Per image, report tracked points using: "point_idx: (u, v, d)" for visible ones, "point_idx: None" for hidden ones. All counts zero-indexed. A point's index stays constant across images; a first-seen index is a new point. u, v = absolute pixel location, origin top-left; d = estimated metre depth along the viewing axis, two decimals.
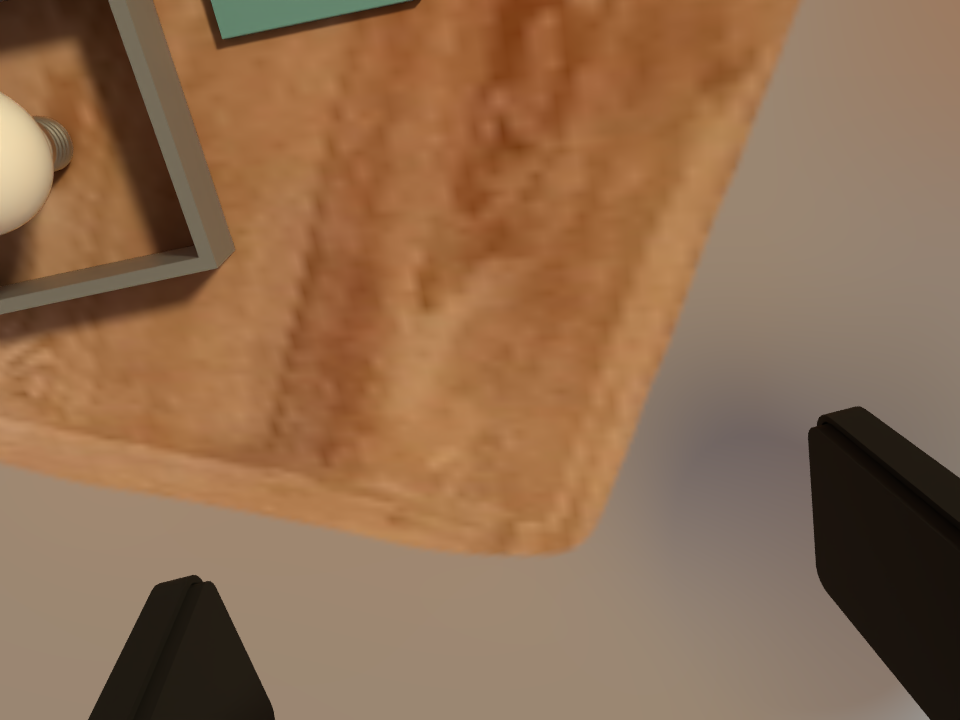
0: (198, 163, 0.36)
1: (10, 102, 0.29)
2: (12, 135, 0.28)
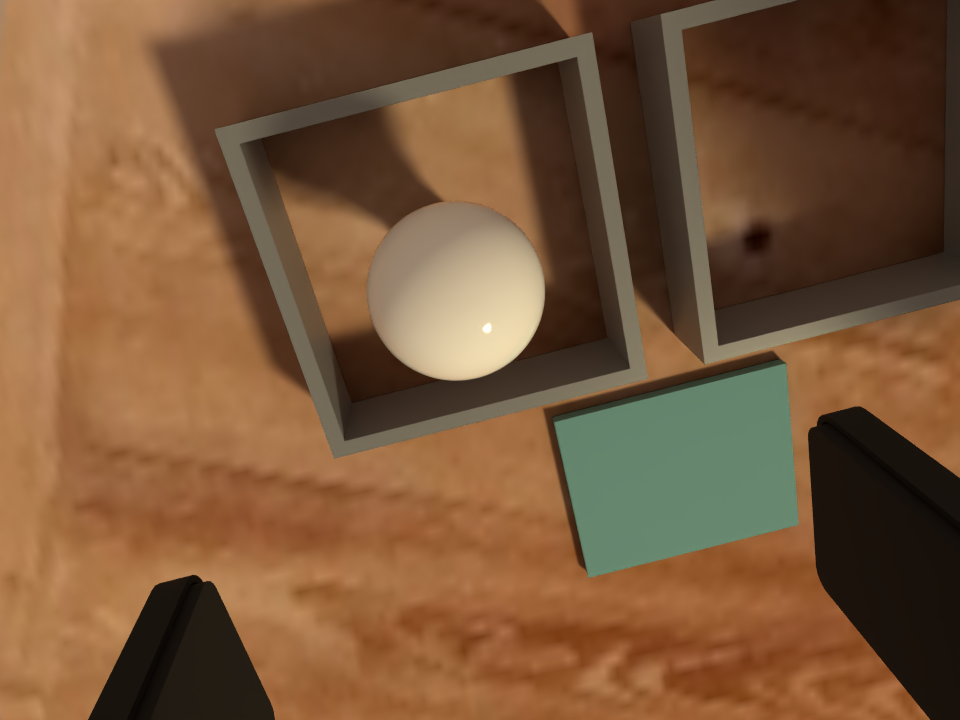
0: None
1: None
2: None
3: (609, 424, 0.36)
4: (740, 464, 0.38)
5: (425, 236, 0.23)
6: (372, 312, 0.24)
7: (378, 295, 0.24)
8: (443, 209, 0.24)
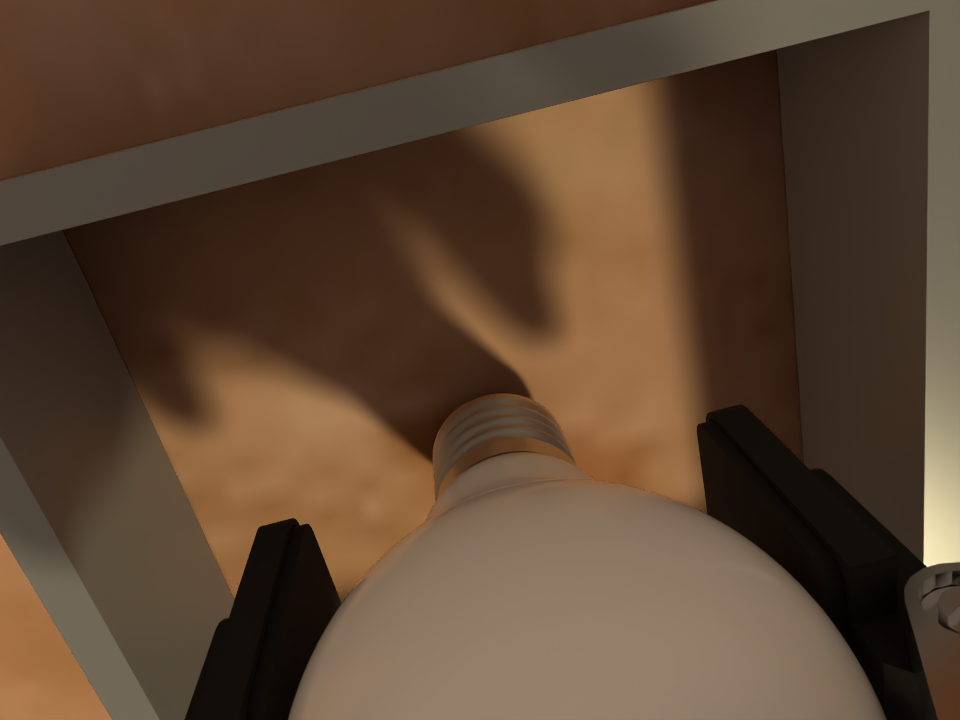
0: None
1: None
2: None
3: None
4: None
5: None
6: None
7: None
8: (566, 595, 0.06)
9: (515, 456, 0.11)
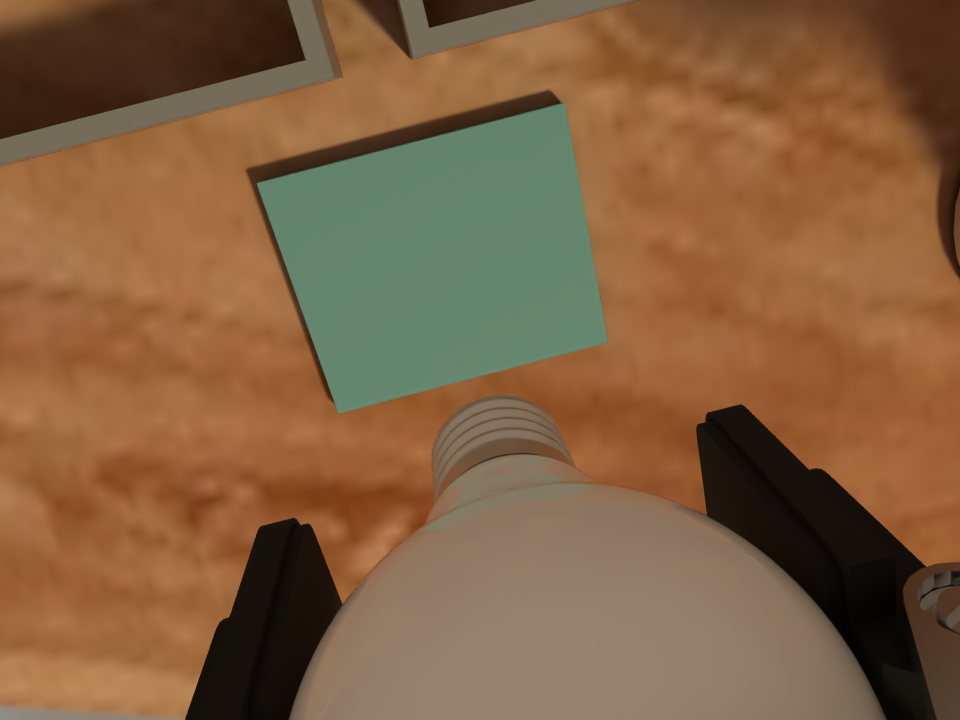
0: None
1: None
2: None
3: (333, 189, 0.27)
4: (520, 252, 0.29)
5: None
6: None
7: None
8: (569, 599, 0.06)
9: (514, 458, 0.11)
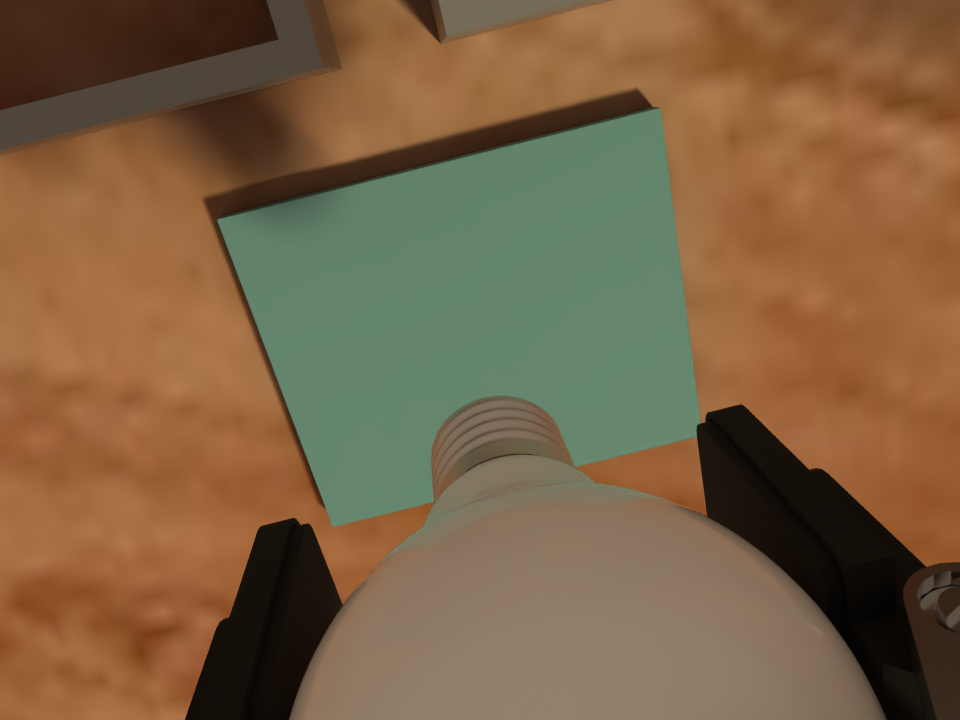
0: None
1: None
2: None
3: (326, 228, 0.19)
4: (588, 316, 0.21)
5: None
6: None
7: None
8: (569, 600, 0.06)
9: (514, 459, 0.11)
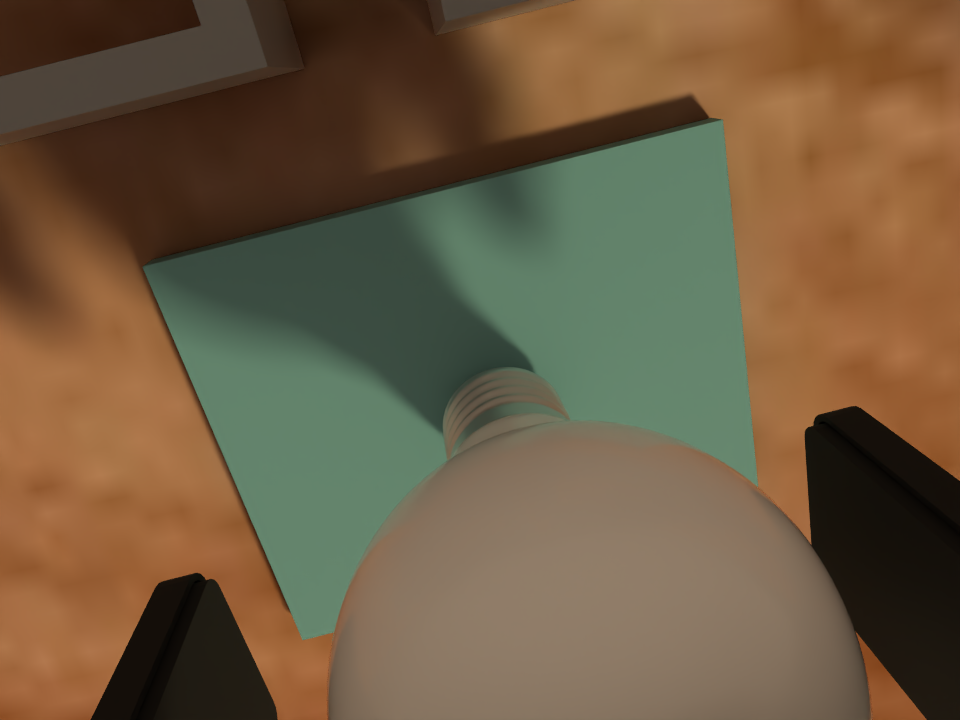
0: None
1: None
2: None
3: (288, 277, 0.15)
4: (623, 383, 0.16)
5: (534, 629, 0.06)
6: None
7: None
8: (579, 494, 0.07)
9: (522, 415, 0.12)
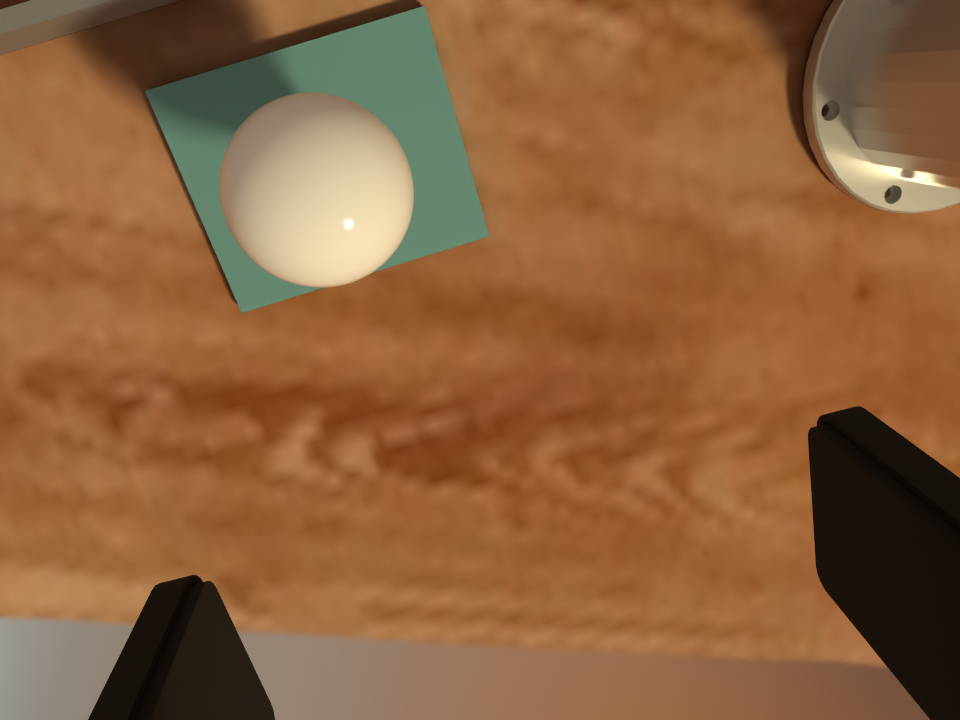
0: None
1: None
2: (360, 277, 0.24)
3: (217, 94, 0.30)
4: None
5: (269, 122, 0.21)
6: (224, 213, 0.23)
7: (226, 190, 0.22)
8: (292, 97, 0.22)
9: None
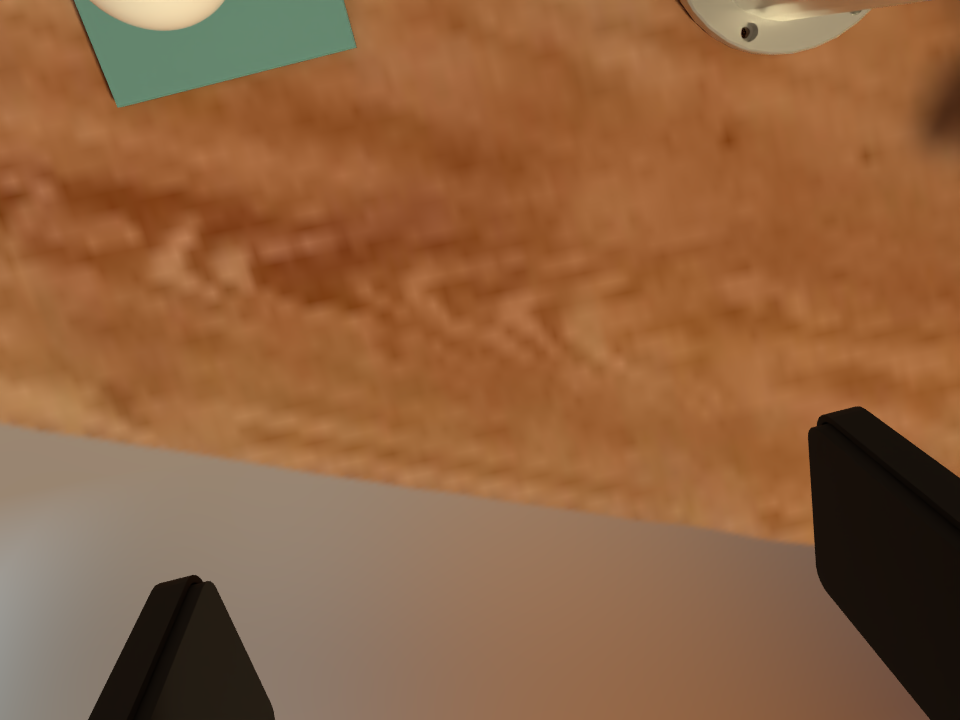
0: None
1: (220, 3, 0.27)
2: (181, 14, 0.26)
3: None
4: None
5: None
6: None
7: None
8: None
9: None
